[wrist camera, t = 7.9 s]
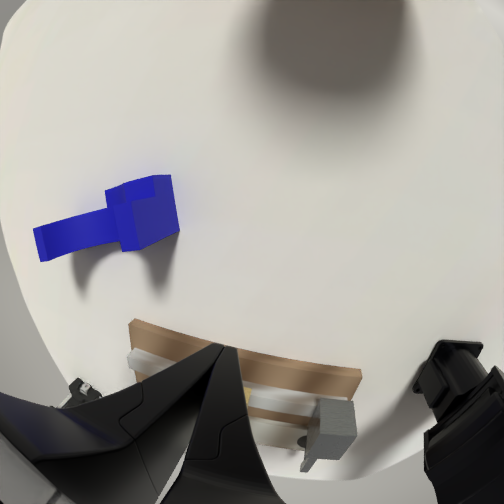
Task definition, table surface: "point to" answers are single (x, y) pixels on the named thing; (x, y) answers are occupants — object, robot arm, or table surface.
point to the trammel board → (253, 382)
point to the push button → (79, 394)
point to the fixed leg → (329, 431)
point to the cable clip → (116, 220)
